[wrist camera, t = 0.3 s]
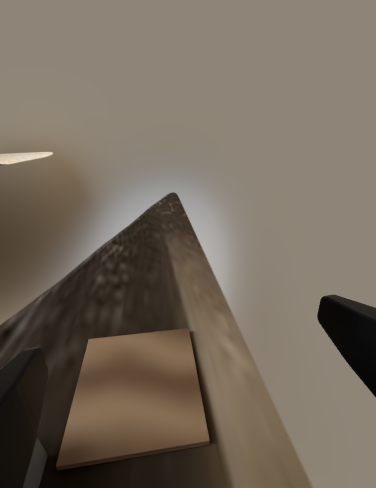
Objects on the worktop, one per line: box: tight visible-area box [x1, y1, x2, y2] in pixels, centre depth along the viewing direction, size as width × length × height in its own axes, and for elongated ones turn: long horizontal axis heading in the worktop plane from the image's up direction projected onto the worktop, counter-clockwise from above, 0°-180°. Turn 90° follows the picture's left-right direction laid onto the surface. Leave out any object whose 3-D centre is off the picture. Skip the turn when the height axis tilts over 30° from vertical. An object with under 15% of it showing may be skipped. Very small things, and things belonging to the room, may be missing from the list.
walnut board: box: [56, 328, 209, 470], centre depth 23 cm, size 11×11×1 cm
